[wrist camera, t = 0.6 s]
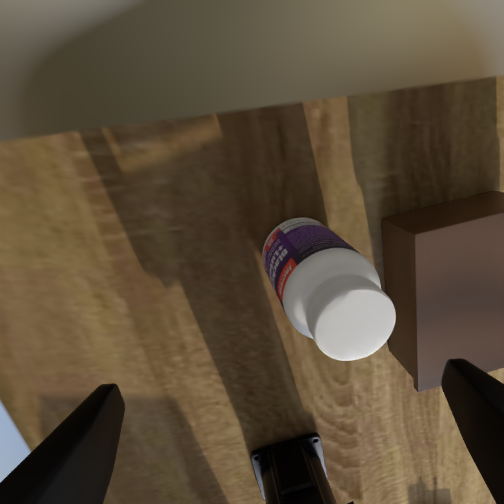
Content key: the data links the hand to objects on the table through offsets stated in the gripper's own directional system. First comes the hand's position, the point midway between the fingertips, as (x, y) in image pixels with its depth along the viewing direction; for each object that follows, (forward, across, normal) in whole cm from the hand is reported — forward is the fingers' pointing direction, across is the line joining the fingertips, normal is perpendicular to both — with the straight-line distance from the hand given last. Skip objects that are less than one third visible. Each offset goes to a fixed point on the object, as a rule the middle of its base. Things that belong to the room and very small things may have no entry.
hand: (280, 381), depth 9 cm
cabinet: (+16, -14, +8) cm, 23 cm away
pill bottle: (+15, -2, +4) cm, 16 cm away
